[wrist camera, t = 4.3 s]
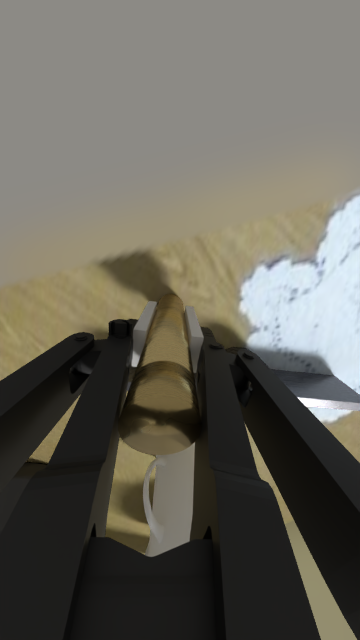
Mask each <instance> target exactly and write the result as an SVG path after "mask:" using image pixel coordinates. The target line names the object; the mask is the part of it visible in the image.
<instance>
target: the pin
mask: <svg viewBox="0 0 360 640" xmlns="http://www.w3.org/2000/svg"><path fill="white" fill-rule="evenodd" d="M201 427H202V423H201V417H200V411H199V404H198V398H197V391H196V385H195V378H194V372H193V366H192V359H191V353H190V347H189V340H188V334H187V327H186V321H185V314H184V308H183V302H182V300H181V299H180V298H179V297H178V296H176V295H174V294H167V295H165V296H163V297H162V298H161V299H160V301H159V303H158V306H157V309H156V312H155V315H154V318H153V321H152V324H151V327H150V330H149V333H148V336H147V339H146V342H145V344H144V347H143V350H142V353H141V356H140V359H139V362H138V364H137V367H136V370H135V373H134V376H133V379H132V382H131V385H130V388H129V391H128V394H127V397H126V400H125V403H124V405H123V408H122V411H121V414H120V417H119V420H118V432H119V435H120V437H121V438H122V440H123V441H124V442H125V443H126V444H127V445H129V446H130V447H131V448H133V449H135V450H137V451H140V452H142V453H146V454H151V455H168V454H174V453H177V452H180V451H183V450H185V449H187V448H188V447H190V446H191V445H192V444H193V443H195V442H196V440H197V439H198V437H199V434H200V431H201Z"/></svg>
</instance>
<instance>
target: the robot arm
mask: <svg viewBox="0 0 360 640" xmlns="http://www.w3.org/2000/svg"><path fill="white" fill-rule="evenodd" d="M156 306H157V302H154V301H149V302H148V304H147V306H146V307H145V309H144V311H143V313H142V315H141V316H140V318H139V320H136V319H128V320H123V319H117V320H113V321H110V322H109V336H108V338H107V339H103V340H94V335H92V334H90V333H85V332H80V333H76V334H73V335H71V336H69V337H67V338H66V339H64V340H63V341H61V342H60V343H58V344H57V345H55V346H54V347H52V348H50V349H49V350H47V351H46V352H44V353H43V354H41V355H40V356H38V357H37V358H35V359H34V360H32V361H30V362H29V363H27V364H26V365H24V366H23V367H21V368H20V369H18V370H17V371H15V372H14V373H12V374H10V375H9V376H7V377H6V378H4V379H3V380H1V381H0V640H321V638H320V636H319V632H318V629H317V626H316V622H315V619H314V616H313V613H312V610H311V607H310V604H309V600H308V597H307V594H306V591H305V588H304V585H303V581H302V578H301V575H300V572H299V569H298V565H297V562H296V559H295V556H294V553H293V549H292V547H291V543H290V540H289V537H288V534H287V530H286V527H285V524H284V521H283V518H282V515H281V511H280V508H279V505H278V502H277V499H276V497H275V494H274V492H273V489H272V488H271V486H270V485H269V483H268V482H266V481H264V480H261V478H260V477H259V474H258V472H257V468H256V465H255V461H254V457H253V453H252V449H251V446H250V442H249V438H248V434H247V431H246V427H245V424H246V426H247V428H248V430H249V432H250V434H251V436H252V438H253V440H254V442H255V444H256V446H257V448H258V450H259V452H260V454H261V456H262V458H263V460H264V462H265V464H266V466H267V468H268V470H269V471H270V473H271V475H272V477H273V479H274V481H275V483H276V485H277V487H278V489H279V491H280V493H281V495H282V497H283V499H284V501H285V503H286V505H287V507H288V509H289V511H290V513H291V515H292V517H293V519H294V521H295V523H296V525H297V527H298V529H299V531H300V533H301V535H302V536H303V539H304V541H305V542H306V545H307V547H308V549H309V551H310V553H311V555H312V556H313V559H314V560H315V562H316V564H317V566H318V568H319V570H320V572H321V574H322V576H323V578H324V580H325V582H326V584H327V586H328V588H329V589H330V591H331V593H332V595H333V597H334V599H335V601H336V603H337V604H338V606H339V608H340V610H341V612H342V614H343V616H344V618H345V619H346V621H347V623H348V624H349V626H350V628H351V629H352V631H353V633H354V634H355V636H356V638H357V640H360V463H359V462H358V461H357V460H356V459H355V458H354V457H353V456H352V454H351V453H350V452H349V451H348V450H347V449H346V448H345V447H344V446H343V445H342V444H341V443H340V442H339V441H338V440H337V439H336V438H335V437H334V436H333V435H332V433H331V432H330V431H329V430H328V429H327V428H326V427H325V426H324V425H323V424H322V423H321V422H320V421H319V420H318V419H317V418H316V417H315V416H314V415H313V414H312V412H311V411H310V410H309V409H308V408H307V407H306V406H305V405H304V404H303V403H302V402H301V401H300V400H299V399H298V398H297V397H296V396H295V395H294V394H293V392H292V391H291V390H290V389H289V388H288V387H287V386H286V385H285V384H284V383H283V382H282V381H281V380H280V379H279V378H278V377H277V376H276V375H275V374H274V373H273V371H272V370H271V369H270V368H269V367H268V366H267V365H266V364H265V363H264V362H263V361H262V360H261V359H260V358H259V357H258V356H257V355H256V354H254V353H252V352H251V351H248V350H239V351H238V352H237V355H234V354H231V353H228V352H225V348H224V346H222V345H221V344H219V343H217V342H216V340H215V338H214V335H213V333H212V331H211V330H210V329H209V328H205V327H200V325H199V322H198V319H197V316H196V313H195V310H194V307H192V306H186V307H185V313H184V314H185V321H186V327H187V334H188V340H189V347H190V353H191V359H192V366H193V372H194V373H196V371H197V366H198V374H197V379H196V383H195V385H196V386H197V389H196V391H197V398H198V404H199V411H200V417H201V423H202V427H201V431H200V434H199V437H198V439H197V440H196V442H195V453H194V485H193V514H192V523H191V531H190V540H189V542H187V543H184V544H182V545H180V546H177V547H175V548H173V549H170V550H168V551H166V552H164V553H161V554H159V555H157V556H154V557H149V556H146V555H144V554H142V553H140V552H138V551H136V550H134V549H131V548H129V547H127V546H125V545H123V544H121V543H119V542H117V541H115V540H113V539H111V538H109V537H105V532H106V522H107V513H108V506H109V499H110V493H111V487H112V480H113V474H114V468H115V462H116V455H117V449H118V443H119V436H120V435H119V432H118V420H119V417H120V414H121V411H122V408H123V405H124V403H125V399H126V392H127V386H128V380H129V373H130V364H131V361H132V366H133V367H137V364H138V362H139V359H140V356H141V353H142V350H143V347H144V344H145V342H146V339H147V336H148V333H149V330H150V327H151V324H152V321H153V318H154V315H155V312H156ZM250 384H252V388H253V389H251V387H250ZM80 394H81V395H80ZM79 395H80V398H79V400H78V402H77V404H76V406H75V408H74V410H73V412H72V415H71V417H70V419H69V421H68V423H67V425H66V427H65V429H64V432H63V434H62V436H61V438H60V440H59V442H58V444H57V446H56V449H55V451H54V453H53V455H52V457H51V459H50V461H49V463H48V465H44V464H37V463H25V462H26V461H27V459H28V458H29V457H30V456H31V455H32V453H33V452H34V451H35V450H36V448H37V447H38V446H39V445H40V443H41V442H42V441H43V440H44V438H45V437H46V436H47V435H48V434H49V432H50V431H51V430H52V429H53V427H54V426H55V425H56V424H57V422H58V421H59V420H60V419H61V418H62V416H63V415H64V414H65V413H66V411H67V410H68V409H69V408H70V406H71V405H72V404H73V403H74V401H75V400H76V399H77V398H78V397H79ZM244 422H245V423H244Z"/></svg>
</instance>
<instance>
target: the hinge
mask: <svg viewBox="0 0 360 640" xmlns="http://www.w3.org/2000/svg"><path fill="white" fill-rule="evenodd" d="M239 350H248V349H246V348H237V347H232V348H229V349H226V350H225V352H228V353H231V354H234V355H237V352H238V351H239ZM248 351H249V350H248ZM135 370H136V367H133V366H132V361H131V364H130V373H129V380H128V386H127V391H129V388H130V385H131V382H132V379H133V376H134V373H135ZM271 370H272V371H273V373H274V374H275V375H276V376H277V377H278V378H279V379H280V380H281V381H282V382H283V383H284V384H285V385H286V386H287V387H288V388H289V389H290V390H291V391H292V392H293V394H294V395H295V396H296V397H297V398H298V399H299V400H300V401H301V402H302V403H303V404H304V405H305V406H309V407H320V408H332V409H343V410H355V411H360V395H359V394H358V393H356V392H355V391H354V390H352V389H351V388H350V387H348V386H347V385H346V384H345V383H343V382H342V381H341V380H339V379H338V378H337V377H335V376H330V375H321V374H311V373H301V372H292V371H282V370H273V369H271ZM197 374H198V366H197V371H196V373H194V378H195V383H196V379H197ZM250 387H251V389H253V388H252V384H250ZM196 389H197V386H196Z"/></svg>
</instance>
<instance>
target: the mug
mask: <svg viewBox="0 0 360 640" xmlns="http://www.w3.org/2000/svg"><path fill="white" fill-rule="evenodd" d="M194 453H195V443H193V444H192V445H191V446H190V447H188V448H187V449H185V450H183V451H180V452H177V453H174V454H168V455H156V459H155V460H153V461H152V462H151V464H150V465H149V467H148V469H147V472H146V475H145V479H144V485H143V502H144V510H145V514H146V518H147V521H148V524H149V527H150V540H149V551H148V556H149V557H154V556H157V555H159V554H161V553H164V552H166V551H168V550H170V549H173V548H175V547H177V546H180V545H182V544H184V543H187V542H189V540H190V531H191V523H192V514H193V485H194ZM155 466H156V473H155V484H154V496H153V507H152V509H151V505H150V500H149V479H150V474H151V472H152V469H153V468H154V467H155Z"/></svg>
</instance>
